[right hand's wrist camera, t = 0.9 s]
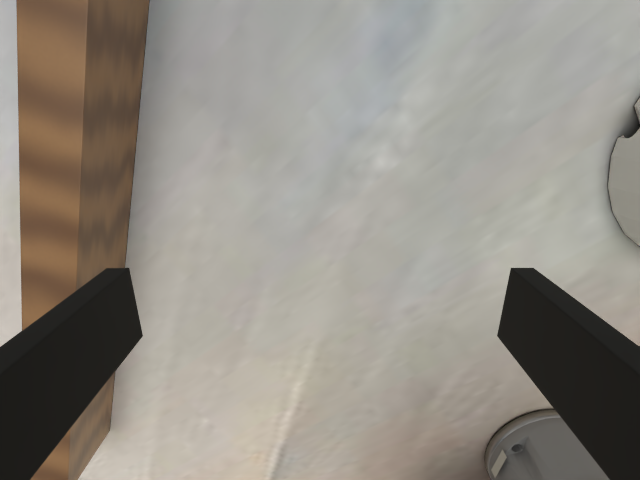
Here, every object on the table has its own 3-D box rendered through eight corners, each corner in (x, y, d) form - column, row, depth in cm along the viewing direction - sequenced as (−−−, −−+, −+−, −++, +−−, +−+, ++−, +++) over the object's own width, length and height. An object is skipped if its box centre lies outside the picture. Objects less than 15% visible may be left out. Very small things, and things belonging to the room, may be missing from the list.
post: (109, 430, 47) (67, 495, 39) (74, 423, 47) (24, 487, 39) (163, -150, 27) (98, -257, 19) (102, -171, 27) (11, -288, 19)
